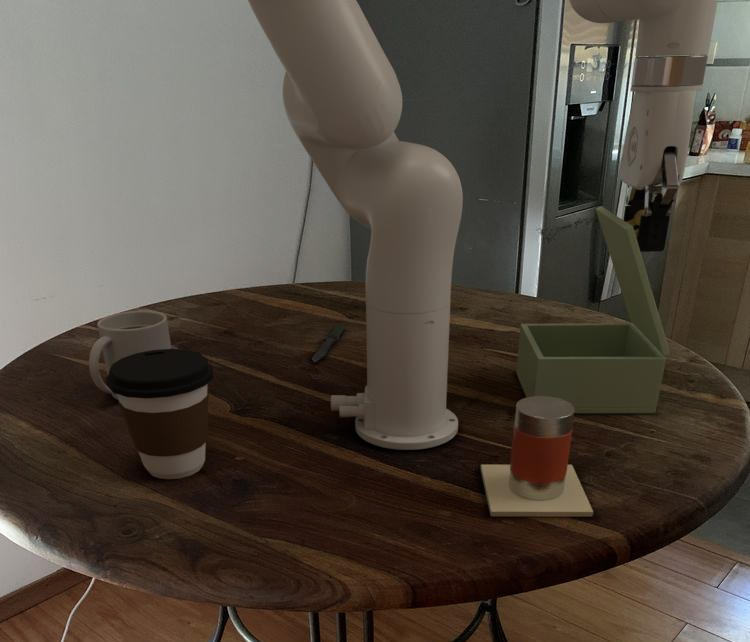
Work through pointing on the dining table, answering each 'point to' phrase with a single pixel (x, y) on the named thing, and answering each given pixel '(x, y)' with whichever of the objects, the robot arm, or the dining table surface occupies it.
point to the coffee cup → (165, 408)
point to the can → (540, 447)
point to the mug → (127, 339)
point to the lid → (632, 275)
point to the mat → (514, 505)
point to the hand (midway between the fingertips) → (641, 243)
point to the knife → (329, 341)
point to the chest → (591, 366)
